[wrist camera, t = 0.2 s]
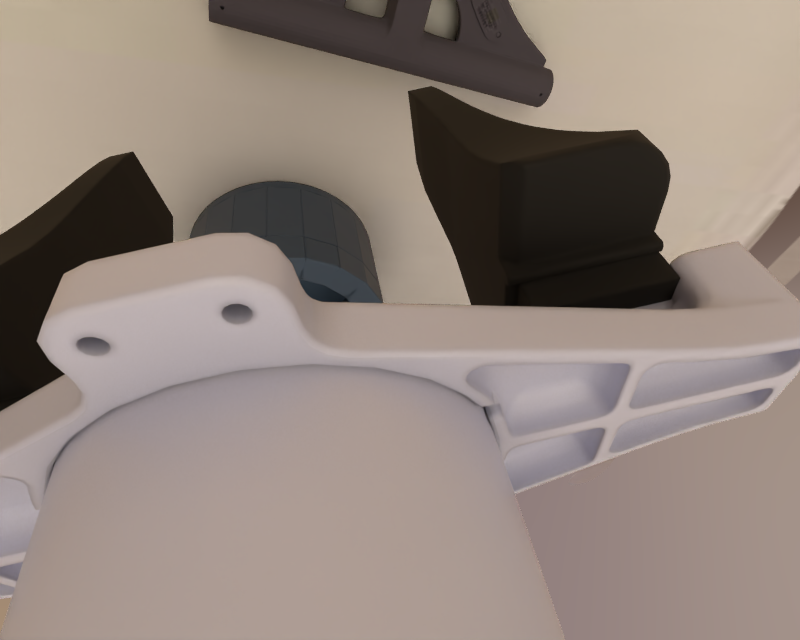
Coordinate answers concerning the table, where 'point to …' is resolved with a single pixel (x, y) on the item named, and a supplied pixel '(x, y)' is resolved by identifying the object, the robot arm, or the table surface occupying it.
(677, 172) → the table surface
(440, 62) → the bracket
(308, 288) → the jar
